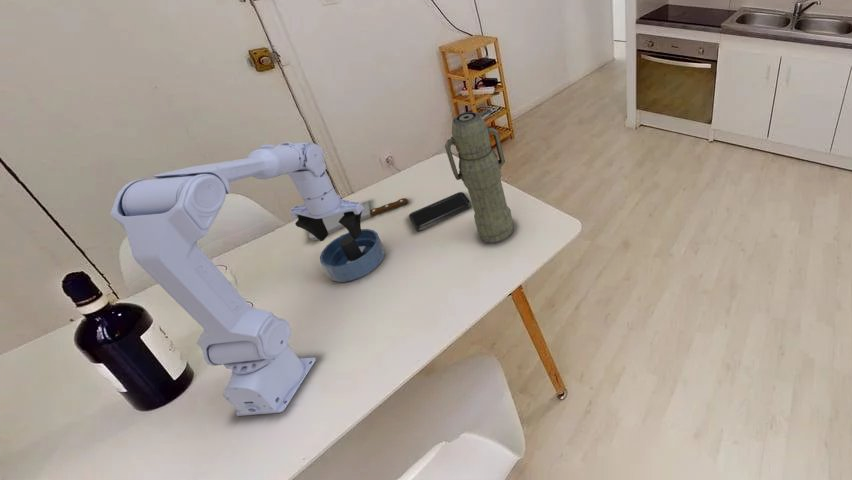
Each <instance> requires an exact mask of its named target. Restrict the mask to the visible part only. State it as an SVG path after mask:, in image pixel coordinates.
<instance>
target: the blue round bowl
mask: <svg viewBox="0 0 852 480" xmlns="http://www.w3.org/2000/svg"><path fill="white" fill-rule="evenodd" d="M348 236H351V235H350V233H349V231H348V232H346V233H344V234H341V235H340V236H338V237H336V238H334V239H333V240H331V242H329V243H328V244H327V245H326V246H325V247H324V248H323V250H322V251H321V253H320V255H319V262H320V265H321V266H322V268H323V269H324V271H325V274H327V276H328V278H330V279H331V281H334V282H339V283H344V282H350V281H354V280H357V279H360V278H361V277H364V276H366V275H368V274H369V273H370V272H372V271H373V270H375V269H376V268H377V267H378V266H379V265H380V264H381V263H382V261H383V259H384V258H385V254H386V249H385V247H384V244H383V242H382V240H381V238H380V236H379V233H378V232H377V231H375V230H374V229H370V228H361V234H360V236H359V237H358V238H357V239H355V241H356V243H357V244H358V246H359V247H361V246H366V248H365V249H364V251H363V253H365V255H363V256H362V257H360V258H359V259H357V260H354V261H352V262H350V263H347V264H346V262H347V257H346V255H345V254H344V252H343V250H342V248H341V246H340V244H339V242H340V241H341V240H342V239H343V238H345V237H348Z"/></svg>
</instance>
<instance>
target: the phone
mask: <svg viewBox="0 0 852 480" xmlns="http://www.w3.org/2000/svg"><path fill="white" fill-rule="evenodd" d="M471 207H472V202H471V200H469V199H468V197H467V195H465V193H464V192H463V191H459V192H457V193H454V194H451V195H449V196H447V197H445V198H442V199H440V200H437V201H435V202H433V203H431V204H429V205H426V206H424V207H422V208H419V209H417V210H415V211H412V212H411V213H409V215H408V217H409V220H410V222H411V224H412V226H413V228H414V231H416V232H421V231H423V230H425V229H428V228H430V227H432V226H434V225H436V224H439V223H441V222H442V221H445V220H447V219H449V218H451V217H454V216H455V215H458V214H460V213H462V212H464V211H468V209H470V208H471Z"/></svg>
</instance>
